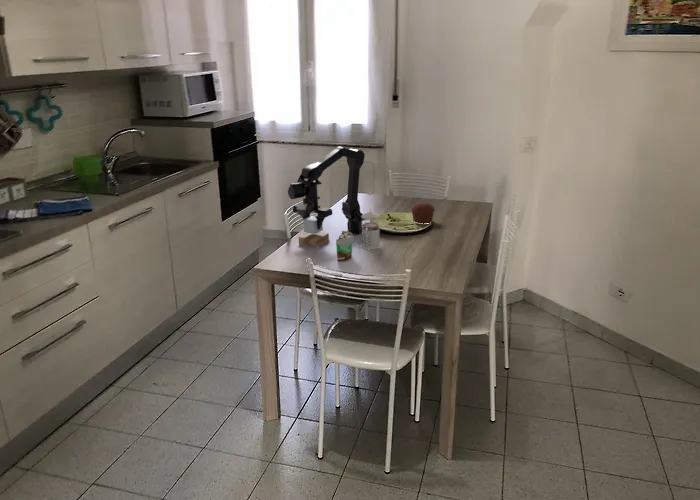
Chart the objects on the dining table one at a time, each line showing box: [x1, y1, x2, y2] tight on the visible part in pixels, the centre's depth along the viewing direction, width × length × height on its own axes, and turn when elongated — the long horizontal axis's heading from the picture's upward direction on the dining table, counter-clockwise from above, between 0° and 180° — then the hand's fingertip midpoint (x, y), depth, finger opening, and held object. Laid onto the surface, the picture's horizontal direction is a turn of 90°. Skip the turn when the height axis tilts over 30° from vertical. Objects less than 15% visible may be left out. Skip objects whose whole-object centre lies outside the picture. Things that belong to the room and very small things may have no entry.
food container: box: [335, 230, 355, 262], centre depth 245 cm, size 12×6×10 cm, turn 168°
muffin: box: [410, 201, 436, 224], centre depth 287 cm, size 12×11×10 cm
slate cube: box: [302, 215, 324, 234], centre depth 262 cm, size 6×6×6 cm
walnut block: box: [298, 231, 330, 248], centre depth 265 cm, size 10×10×4 cm
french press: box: [359, 191, 383, 250], centre depth 256 cm, size 10×12×25 cm
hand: (313, 228), depth 263 cm, fingers closed on slate cube, 6 cm apart
